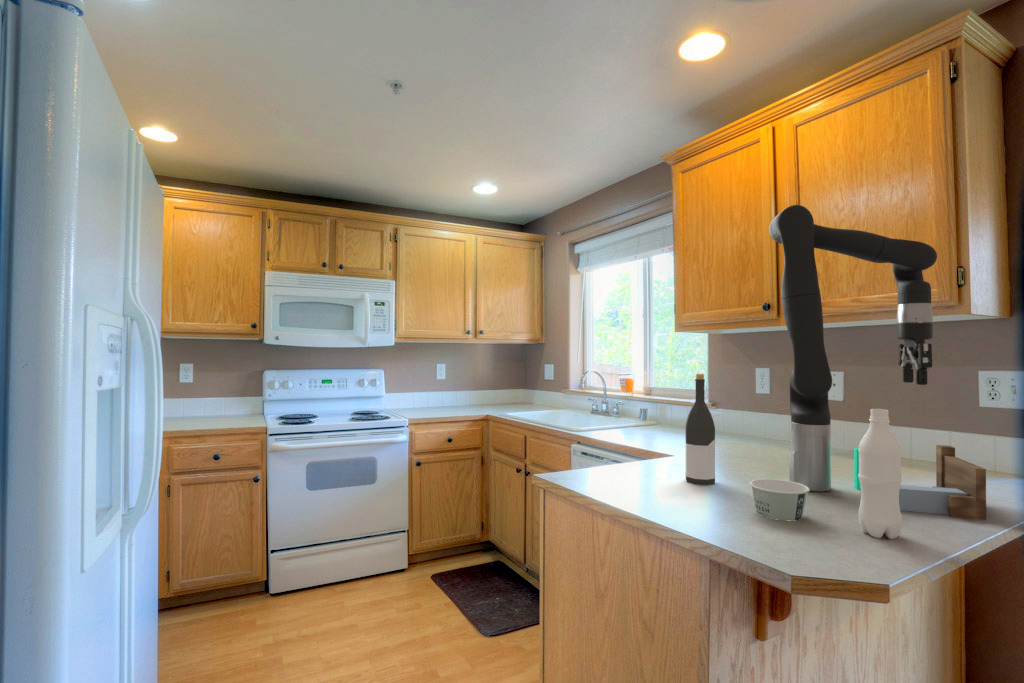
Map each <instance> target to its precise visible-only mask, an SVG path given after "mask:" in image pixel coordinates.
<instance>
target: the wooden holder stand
mask: <svg viewBox="0 0 1024 683" xmlns="http://www.w3.org/2000/svg"><path fill="white" fill-rule="evenodd" d="M935 449H936V450H935V457H936V458H935V463H936V466H935V467H936V468H935V470H936V474H935V475H936V476H935V477H936V478H935V480H936V481H935V482H936V484H935V485H936V486H935V485H934V486H932V487H937V488H953V489H959V490H961V491H963V492H966V493H968V496H959V495H948V514H947V516H949V517H951V518H960V519H962V518H963V519H970V520H971V519H972V520H974V519H975V520H983V521H987V468H984V467H982V466H979V465H976V464H974V463H972V462H969V461H967V460H963V459H962V458H959V457H957V456H956V447H954V446H952V445H941V444H940V445H939V444H936V445H935Z"/></svg>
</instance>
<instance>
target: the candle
mask: <svg viewBox="0 0 1024 683" xmlns="http://www.w3.org/2000/svg"><path fill="white" fill-rule="evenodd" d="M858 448H859V447H858ZM858 448H857V447H854V449H853V477H854V478H853V483H854V485H853V486H854V489H856V490H858V491H861V485H860V481H859V477H858V474H859V451H858Z"/></svg>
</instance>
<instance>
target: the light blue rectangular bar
mask: <svg viewBox="0 0 1024 683" xmlns="http://www.w3.org/2000/svg"><path fill="white" fill-rule="evenodd" d="M948 495H959V496H968V493H966V492H963V491H961V490H959V489H953V488H937V487H936V486H934V487H933V486H921V485H907V484H906V485H904V484H901V485H900V490H899V506H900V511H904V512H905V511H906V512H917V513H931V514H941V515H942V514H945V515H948Z"/></svg>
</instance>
